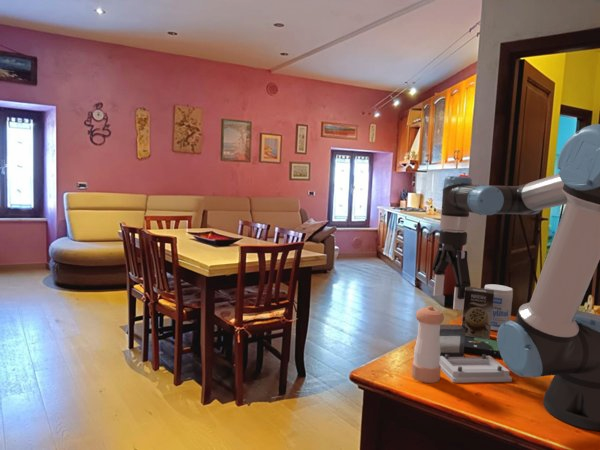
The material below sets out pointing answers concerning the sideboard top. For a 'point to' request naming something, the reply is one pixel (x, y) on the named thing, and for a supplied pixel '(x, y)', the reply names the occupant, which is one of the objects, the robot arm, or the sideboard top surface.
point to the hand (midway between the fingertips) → (447, 302)
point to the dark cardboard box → (477, 312)
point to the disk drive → (481, 347)
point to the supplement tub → (500, 305)
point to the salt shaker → (427, 346)
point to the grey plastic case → (452, 340)
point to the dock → (474, 369)
